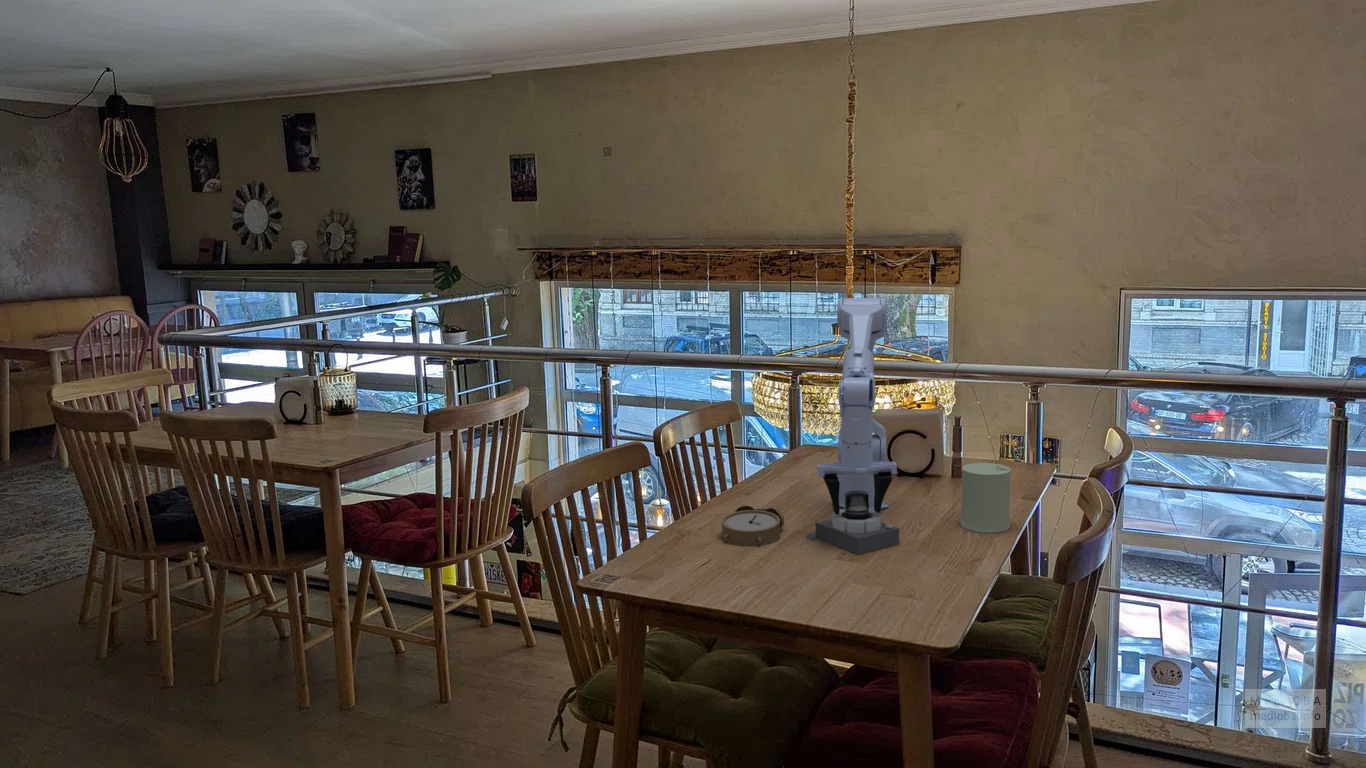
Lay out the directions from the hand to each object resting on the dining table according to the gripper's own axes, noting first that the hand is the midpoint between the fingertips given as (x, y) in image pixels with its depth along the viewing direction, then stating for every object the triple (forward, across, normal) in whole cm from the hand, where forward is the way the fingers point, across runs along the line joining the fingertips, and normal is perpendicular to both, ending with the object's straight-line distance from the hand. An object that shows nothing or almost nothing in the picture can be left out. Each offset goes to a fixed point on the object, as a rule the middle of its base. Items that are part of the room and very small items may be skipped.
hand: (856, 512), depth 181 cm
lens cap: (+6, -6, +3) cm, 10 cm away
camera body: (+6, 0, 0) cm, 6 cm away
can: (+6, +26, +6) cm, 28 cm away
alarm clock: (+6, -19, +7) cm, 21 cm away
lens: (+3, 0, 0) cm, 3 cm away
